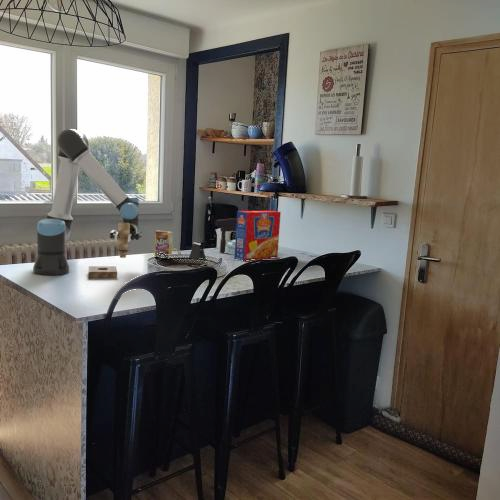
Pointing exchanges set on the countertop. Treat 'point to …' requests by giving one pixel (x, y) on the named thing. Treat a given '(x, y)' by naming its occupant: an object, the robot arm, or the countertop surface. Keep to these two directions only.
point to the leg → (123, 238)
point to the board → (102, 272)
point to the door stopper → (197, 251)
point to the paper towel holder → (225, 226)
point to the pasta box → (257, 235)
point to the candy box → (163, 241)
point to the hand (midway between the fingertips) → (122, 238)
